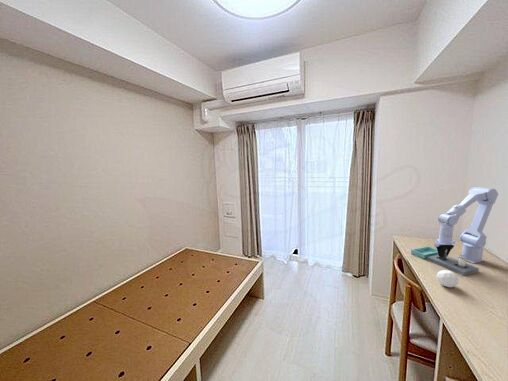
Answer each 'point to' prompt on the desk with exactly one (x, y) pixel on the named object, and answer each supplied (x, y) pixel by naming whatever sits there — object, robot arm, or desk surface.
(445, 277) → the geometric ball
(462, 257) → the fuse
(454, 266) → the fuse block
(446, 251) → the led light bulb
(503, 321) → the desk surface
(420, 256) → the tray
